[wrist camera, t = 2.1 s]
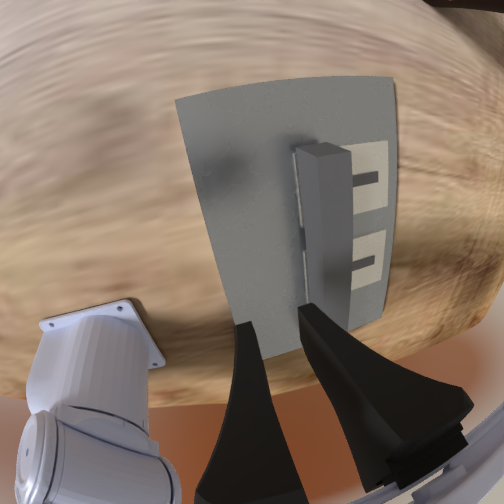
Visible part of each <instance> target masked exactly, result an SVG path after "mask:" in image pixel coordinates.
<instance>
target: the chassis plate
mask: <svg viewBox="0 0 504 504" xmlns="http://www.w3.org/2000/svg"><path fill="white" fill-rule="evenodd" d="M175 104H176V108H177V113H178V117H179V121H180V126H181V130H182V134H183V138H184V142H185V147H186V151H187V155H188V159H189V163H190V167H191V171H192V175H193V179H194V182H195V186H196V190H197V194H198V198H199V202H200V205H201V209H202V213H203V217H204V220H205V224H206V228H207V231H208V235H209V238H210V242H211V246H212V249H213V253H214V256H215V260H216V263H217V267H218V270H219V273H220V277H221V280H222V284H223V287H224V290H225V294H226V297H227V300H228V304H229V307H230V310H231V314H232V317H233V320H234V323H235V325H238V324H241V323H245V322H248V321H252V324H253V327H254V330H255V333H256V336H257V340H258V344H259V348H260V352H261V356H262V360H264V359H267V358H271V357H274V356H277V355H281V354H284V353H287V352H290V351H293V350H296V349H299V348H302V347H303V346H302V344H301V341H300V332H299V320H298V309H297V307H299V306H302V305H305V304H309V303H310V297H309V280H308V265H307V251H306V239H305V227H304V216H303V206H302V196H301V187H300V178H299V169H298V161H297V153H296V147H299V146H304V145H311V144H317V143H323V142H328V143H331V144H334V145H336V146H339V147H341V148H344V149H346V150H349V151H351V155H352V176H353V261H352V282H351V298H350V311H349V322H348V331H350V330H352V329H355V328H358V327H360V326H363V325H365V324H368V323H370V322H372V321H375V320H377V319H380V318H381V317H382V312H383V307H384V301H385V296H386V289H387V283H388V276H389V269H390V262H391V254H392V245H393V235H394V223H395V209H396V189H397V129H396V110H395V96H394V85H393V77H377V76H332V77H312V78H298V79H287V80H278V81H270V82H262V83H255V84H248V85H242V86H236V87H231V88H225V89H220V90H215V91H210V92H206V93H201V94H197V95H193V96H189V97H184V98H181V99H177V100H175Z"/></svg>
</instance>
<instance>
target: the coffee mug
mask: <svg viewBox="0 0 504 504" xmlns="http://www.w3.org/2000/svg"><path fill="white" fill-rule="evenodd" d="M423 1H425V2H426V3H428V4H430V5H432V6H435V7H451V8H466V9H476V10H485V11H492V12H498V13H504V0H423Z"/></svg>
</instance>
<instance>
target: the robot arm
mask: <svg viewBox="0 0 504 504" xmlns="http://www.w3.org/2000/svg"><path fill="white" fill-rule="evenodd" d="M118 306H121V307H122V308H119V307H118ZM297 309H298V320H299V332H300V341H301V344H302V346H303V349H304V351H305V354H306V356H307V359H308V361H309V363H310V365H311V367H312V368H313V370H314V372H315V374H316V376H317V378H318V379H319V381H320V383H321V385H322V387H323V388H324V390H325V392H326V394H327V396H328V398H329V399H330V401H331V403H332V405H333V407H334V409H335V411H336V414H337V416H338V419H339V421H340V424H341V426H342V429H343V431H344V434H345V436H346V439H347V442H348V444H349V447H350V450H351V452H352V455H353V458H354V461H355V463H356V466H357V470H358V473H359V476H360V479H361V482H362V485H363V488H364V490H365V492H366V493H368V492H370V491H372V490H374V489H377V488H379V487H381V486H383V485H384V488H382V489H379V490H377V491H376V492H373V493H371V494H369V495H367V496H365V497H362V498H360V499H358V500H355V501H353V502H351V503H348V504H383V503H385V502H387V501H389V500H391V499H393V498H395V497H397V496H399V495H400V494H402V493H404V492H406V491H408V490H409V489H411V488H413V487H414V486H416V485H418V484H419V483H421V482H423V481H424V480H425V479H427V478H429V477H430V476H432V475H433V474H435V473H437V472H438V471H439V470H441V469H442V468H444V469H443V473H442V474H441V475H440V476H438V477H437V478H435V479H433V480H432V481H430V482H428V483H427V484H425V485H424V486H422V487H421V488H419V489H418V490H416V491H414V492H413V493H412V494H411V495H412V497H413V499H414V501H412V502H410V503H408V504H478V503H479V502H480V501H481V500H482V499H483V498H484V497H485V496H486V495H487V494H488V493H489V492H490V491H491V490H492V489H493V488H494V486H495V485H496V484H497V483H498V482H499V481H500V480H501V478H502V477H503V476H504V402H503V403H502V404H501V405H500V406H499V407H498V408H497V409H496V410H494V411H493V412H492V413H491V414H490V415H489V416H488V417H487V418H486V419H485V420H484V421H482V422H481V423H480V424H479V425H478V426H476V427H475V428H474V429H473V430H472V431H470V432H469V433H468V434H467V435H465V436H463V434H462V433H461V431H462V430H463V427H462V425H461V423H460V422H461V421H462V420H463V419H464V417H466V415H467V414H468V413H469V412H470V411H471V410H472V408H473V407H474V403H473V402H472V400H471V399H470V397H469V396H468V395H467V393H466V392H465V391H464V390H463V389H462V388H461V387H458V386H454V385H450V384H446V383H443V382H439V381H436V380H433V379H430V378H428V377H424V376H422V375H420V374H418V373H415V372H413V371H411V370H408V369H406V368H404V367H402V366H400V365H398V364H395V363H394V362H392V361H390V360H388V359H386V358H385V357H383V356H381V355H380V354H378V353H376V352H375V351H373V350H372V349H370V348H369V347H367V346H366V345H364V344H363V343H361V342H360V341H358V340H357V339H356V338H354V337H353V336H352V335H350V334H349V333H348V332H346V331H345V330H344V329H343V328H341V327H340V326H339V325H338V324H336V323H335V322H334V321H333V320H332V319H331V318H329V317H328V316H327V315H326V314H325V313H324V312H323V311H322V310H320V309H319V308H318V307H317V306H316V305H315V304H314V303H309V304H305V305H302V306H299V307H297ZM52 323H53V324H52ZM39 326H40V328H41V329H42V331H43V332H44V333H43V336H42V339H41V341H40V344H39V347H38V350H37V352H36V355H35V358H34V361H33V364H32V367H31V370H30V374H29V377H28V380H27V386H26V396H27V401H28V406H29V409H30V412H31V414H32V416H31V417H30V418H29V420H28V421H27V424H26V426H25V428H24V431H23V434H22V437H21V441H20V445H19V450H18V456H17V470H16V471H17V472H16V473H17V475H16V482H15V496H16V500H17V504H181V497H182V493H181V485H180V481H179V477H178V475H177V472H176V470H175V468H174V467H173V466H172V464H171V463H170V462H169V461H168V460H167V459H166V458H164V457H162V456H160V455H159V445H158V442H155V441H153V440H151V439H150V438H149V422H148V369H153V368H158V367H163V366H165V364H166V360H165V358H164V357H163V355H162V354H161V352H160V351H159V349H158V347H157V346H156V344H155V342H154V341H153V339H152V337H151V336H150V334H149V332H148V331H147V329H146V327H145V325H144V324H143V322H142V320H141V318H140V317H139V315H138V313H137V311H136V309H135V308H134V306H133V304H132V302H131V301H129V300H126V299H125V300H120V301H116V302H112V303H108V304H104V305H100V306H96V307H92V308H88V309H84V310H80V311H76V312H72V313H68V314H64V315H60V316H56V317H52V318H48V319H44V320H41V321H40V323H39ZM234 333H235V358H234V369H233V377H232V384H231V390H230V396H229V401H228V405H227V409H226V413H225V417H224V421H223V424H222V427H221V431H220V434H219V437H218V440H217V443H216V445H215V448H214V451H213V453H212V455H211V458H210V461H209V463H208V465H207V467H206V470H205V472H204V474H203V476H202V478H201V480H200V482H199V484H198V486H197V488H196V491H195V498H194V504H309V502H308V499H307V497H306V494H305V491H304V488H303V486H302V483H301V481H300V478H299V475H298V473H297V470H296V468H295V465H294V463H293V460H292V457H291V454H290V451H289V449H288V446H287V443H286V441H285V438H284V435H283V432H282V429H281V427H280V423H279V421H278V418H277V415H276V412H275V409H274V406H273V403H272V398H271V394H270V389H269V385H268V380H267V376H266V371H265V368H264V364H263V360H262V356H261V352H260V348H259V344H258V340H257V336H256V333H255V330H254V327H253V324H252V321H248V322H245V323H241V324H238V325H235V327H234Z"/></svg>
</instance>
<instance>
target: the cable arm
mask: <svg viewBox="0 0 504 504" xmlns="http://www.w3.org/2000/svg"><path fill="white" fill-rule="evenodd" d="M296 153H297V161H298V169H299V178H300V187H301V196H302V206H303V216H304V227H305V239H306V251H307V265H308V280H309V297H310V303H314V304H315V305H316V306H317V307H318V308H319V309H320V310H322V311H323V312H324V313H325V314H326V315H327V316H328V317H329V318H331V319H332V320H333V321H334V322H335V323H336V324H338V325H339V326H340V327H341V328H343V329H344V330H345V331H346V332H348V322H349V311H350V298H351V282H352V261H353V176H352V155H351V151H349V150H346V149H344V148H341V147H339V146H336V145H334V144H331V143H328V142H323V143H317V144H311V145H304V146H299V147H296Z"/></svg>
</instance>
